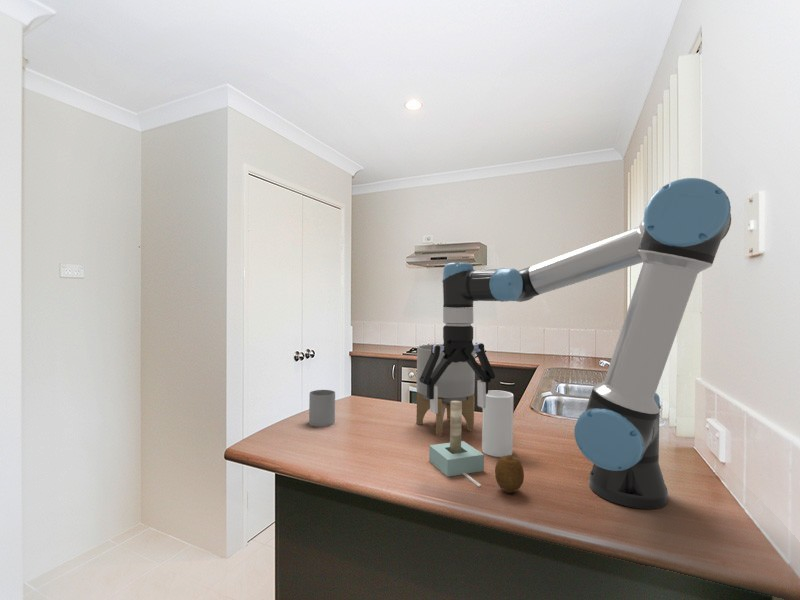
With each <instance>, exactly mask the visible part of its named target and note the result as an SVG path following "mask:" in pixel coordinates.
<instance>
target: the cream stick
mask: <svg viewBox="0 0 800 600" xmlns="http://www.w3.org/2000/svg"><path fill="white" fill-rule="evenodd" d="M462 475H463V476H464V477H465V478H466V479H468V480H469V481H470V482H472V483H473V484H474V485H476V487H478V488H479V487H482V484H481V483H479V482H478V481H477V480H475V479H474V477H471V476H470V475H469V473H467V474H466V473H463V474H462Z"/></svg>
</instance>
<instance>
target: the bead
mask: <svg viewBox="0 0 800 600" xmlns="http://www.w3.org/2000/svg"><path fill="white" fill-rule="evenodd" d="M428 450H429V453H428V454H429V455H428V461H429V462H430V463H431V464H432V465H433V466H434V467H436V469H438V470H439V471H440V472H441V473H443V474H444V475H445V476H446V477H447V478H448V477H453V476H454V477H455V476H460V475H463V473H466V474H473V473H479V472H484V471H485V470H484V469H485V468H484V467H485V458H484V457H485V453H482V452H481V451H480V450H478V449H476V448H474V447H473V446H472V445H470V444H469V443H467V442H466V441H464V440H461V453H457V454H452V453H450V442H445V443H438V444H437V443H436V444H430V445H429V449H428Z"/></svg>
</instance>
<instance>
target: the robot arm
mask: <svg viewBox="0 0 800 600" xmlns="http://www.w3.org/2000/svg"><path fill="white" fill-rule="evenodd" d="M731 208H732V207H731V202H730V199H729V196H728V195H727V193H726V192H725V191H724V190H723V189H722V188H721V187H719V186H718V185H717V184H716V183H714V182H712V181H709V180H707V179H703V178H697V177H687V178H682V179H681V178H680V179H676V180H674V181H671V182H669V183H667V184H665V185H663V186H662V187H661V188H659V189H657V190H656V191H655V193H654V194H652V196H651V197H650V198H649V200H648V201H647V203H646V205H645V209H644V212H643V213H644V214H643V220H642V221H641V222H640V224H639V226H636V227H634V228H631V229H629V230H626V231H623V232H621V233H617V234H615V235H612V236H611V237H610V236H609V237H606V238H604V239H601V240H600V241H596V242H593V243H590V244H587V245H585V246H582V247H580V248H576V249H575V250H571V251H569V252H565V253H563V254H561V255H557V256H554V257H552V258H550V259H547V260H544V261H542V262H539V263H536V264H533V265H531V266H527V267H526V268H525V267H524V268H523V269H520V270H518V269H515V268H508V267H507V268H505V267H501V268H494V269H480V270H475V269H474V265H473V264H472V263H470V262H450V263H449V262H448V263H446V264H445V265H444V267H443V272H442V274H443V275H442V281H441V282H442V290H443V291H442V292H443V293H442V294H443V295H442V296H443V297H442V298H443V300H442V301H443V306H442V313H443V314H442V317H443V318H442V322H443V324H445V325H444V326H443V327H442V340H443V343H442V344H443V346H439V345H432V348H431V354H430V357H429V359H428V361H427V364H426V366H425V368H424V370H423V373H422V375H421V377H420V380H419V381H420V382H421V383H423V384H426V385H427V398H428V399H430V409H429V411H430V413H434V414H435V415H436V413H438V386H435V384H436V382H437V381H438V379H439V378H440V377H441V375H442V374H443V372H444V371H445V370H446V368H447V367H448V365H450V364H451V363H452V362H454V363H457V362H467V363H468V364H469V365H470V367H471V368H472V369H473V370H474V372H475V375H477V377H478V378H479V380H477V383H476V384H477V385H476V386H477V407H479V408H481V409H483V408H486V394H488V391H489V383H491V381H492V380H494V379H495V378H496V375H495V372H494V370H493V368H492V365H491V363H490V361H489V358H488V357H487V353H486V351H485V344H484V343H482V342H475V343H473V340H474V327H473V325H472V324H474V302H503V303H505V302H518V303H519V302H521V303H522V302H527V301H530V300H532V299H533V298H534V297H536V296H539V295H543V294H546V293H549V292H552V291H556V290H558V289H563V288H565V287H568V286H572V285H575V284H578V283H581V282H584V281H587V280H590V279H594V278H598V277H600V276H603V275H607V274H610V273H613V272H616V271H619V270H622V269H626V268H629V267H632V266H636V265H638V264H642V266H641V268H640V271H639V274H638V277H637V278H638V279H637V281H636V283H635V287H634V290H633V292H632V296H631V299H630V302H629V305H628V307H627V310H626V314H625V317H624V320H623V324H622V326H621V329H620V332H619V335H618V339H617V342H616V344H615V347H614V351H613V354H612V356H611V359H610V362H609V365H608V368H607V371H606V374H605V378H604V380H603V381H602V382H598V383H596V384H594V385H593V387H592V390H591V392H590V394H589V395H590V396H589V399H588V402H587V405H586V407H585V410H584V412H582V413H581V414H580V415H579V417H577V420H576V423H575V425H574V432H573V433H574V439H575V443H576V445H577V447H578V449H579V450H580V452H581V454H582V455H583V456H584V457H585V458H586V459H587V460H588V461H589V462H591V463H592V464H593V466H592V467H591V468H592V469H591V471H590V473H589V476H588V477H589V478H588V479H589V481H588V482H589V488H590V489H591V491H592V492H594V493H595V494H596V495H598V496H599V497H600V498H603V499H605V500H607V501H609V502H612V503H614V504H617V505H621V506H623V507H624V506H625V507H628V508H629V507H630V508H634V509H644V510H653V509H654V510H655V509H660V508H663V507H664V506H666V505H667V504H668V502H669V501H668V498H669V495H668V494H669V492H668V488H667V485H666V482H665V480H664V475H663V473H662V469H661V466H660V463H659V462H660V461H659V460H660V459H659V457H660V455H659V453H660V421H661V419H660V414H661V413H660V411H661V409H662V406H661V400H660V396H659V394H658V393H657V389H658V386H659V384H660V380H661V378H662V375H663V372H664V370H665V367H666V364H667V362H668V359H669V355H670V352H671V350H672V347H673V344H674V342H675V338H676V336H677V333H678V330H679V327H680V325H681V323H682V320H683V316H684V315H685V314H684V313H685V310H686V308H687V305H688V302H689V299H690V297H691V293H692V291H693V290H694V289H693V288H694V285H695V283H696V279H697V278H698V275H699V274H700V273H701V272H703V271H704V270H707V269H709V268H711V267H712V266H713V263H714V261H715V258H716V256H717V254H718V253H717V252H718V250H719V248H720V245H721V242H722V241H723V239H725V237H726V236H727V235H728V232H729V231H730V228H731V224H732V213H731V212H732V211H731V210H732V209H731ZM473 350H474V351H475V355H476V356H477V358H478V362H479V363H480V364H479V363H478V362H477V361H476V357H475V358H474V357H473V356H472V354H471V353H472V352H473ZM442 351H443V352H444V356H443V357H442V359H441V361H440V363H439V364H438V366H437V367H436V368H435V370H434V367H435V365H436V363H437V360H438V358H439V355H440V354H441V353H442ZM480 365H481V366H480ZM433 370H434V371H433ZM432 372H433V373H432Z"/></svg>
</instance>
